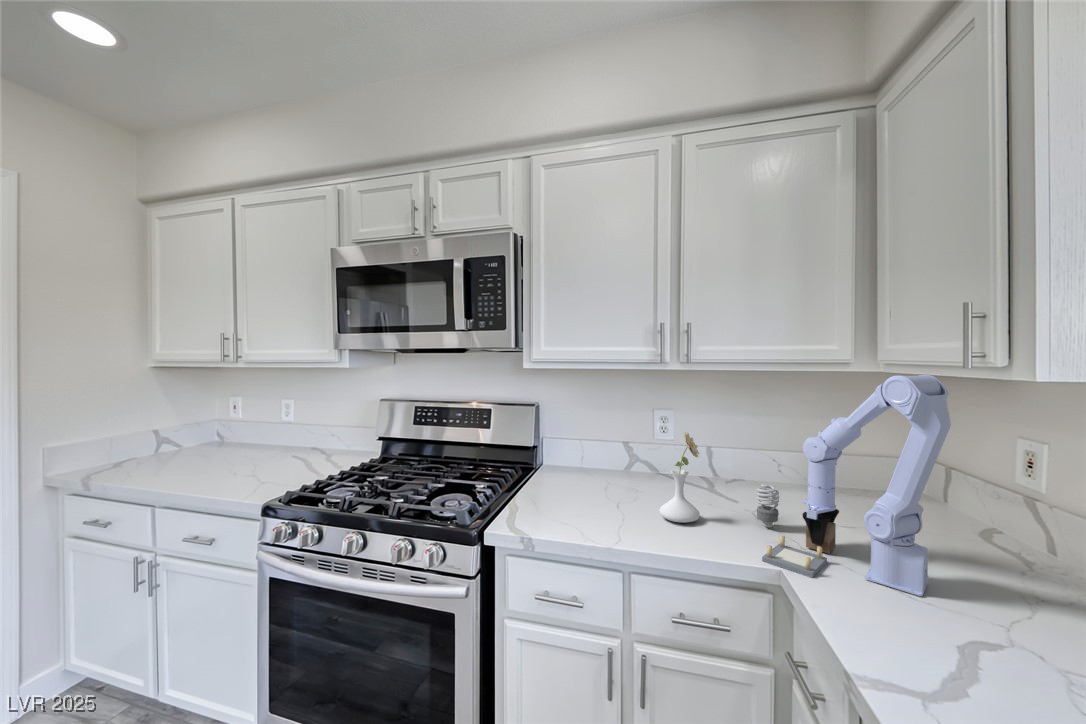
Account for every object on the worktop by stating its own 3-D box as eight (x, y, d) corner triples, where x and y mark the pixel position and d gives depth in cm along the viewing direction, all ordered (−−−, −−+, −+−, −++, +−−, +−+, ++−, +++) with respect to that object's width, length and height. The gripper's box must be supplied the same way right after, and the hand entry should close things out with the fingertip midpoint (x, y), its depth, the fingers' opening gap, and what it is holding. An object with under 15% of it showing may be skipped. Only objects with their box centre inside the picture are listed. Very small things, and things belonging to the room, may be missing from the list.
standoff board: (826, 562, 103) (827, 547, 103) (812, 577, 96) (812, 561, 96) (778, 547, 111) (779, 533, 111) (762, 561, 104) (762, 546, 104)
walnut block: (835, 547, 110) (835, 523, 110) (829, 553, 106) (829, 528, 106) (812, 541, 114) (812, 517, 113) (805, 546, 110) (806, 522, 110)
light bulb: (751, 525, 125) (751, 482, 124) (766, 522, 127) (767, 480, 126) (768, 533, 119) (768, 488, 119) (783, 530, 121) (784, 486, 121)
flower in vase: (685, 529, 122) (686, 438, 121) (651, 517, 131) (651, 432, 130) (710, 518, 130) (711, 433, 129) (676, 507, 139) (677, 427, 138)
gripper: (812, 476, 117) (812, 527, 118) (793, 488, 108) (792, 544, 108) (844, 482, 112) (843, 535, 113) (826, 495, 102) (825, 553, 103)
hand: (820, 540), depth 110 cm, fingers closed on walnut block, 5 cm apart
